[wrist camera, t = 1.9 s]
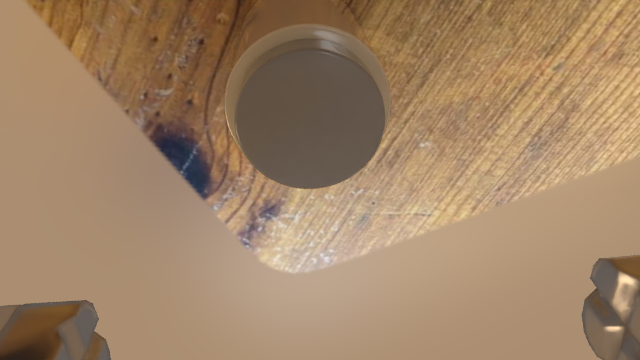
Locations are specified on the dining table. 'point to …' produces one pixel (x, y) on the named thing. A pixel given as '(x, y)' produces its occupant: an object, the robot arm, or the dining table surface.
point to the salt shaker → (306, 92)
